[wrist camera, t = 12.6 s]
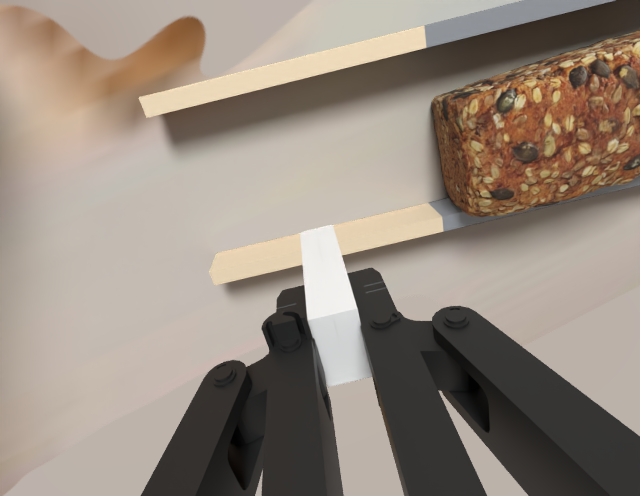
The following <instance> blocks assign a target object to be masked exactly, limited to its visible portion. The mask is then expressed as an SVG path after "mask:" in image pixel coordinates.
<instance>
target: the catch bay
mask: <svg viewBox="0 0 640 496" xmlns="http://www.w3.org/2000/svg"><path fill="white" fill-rule="evenodd" d="M611 1H615V0H523V1H519V2H515V3H511V4H507V5H504V6H500V7H496V8H492V9H488V10H484V11H480V12H476V13H472V14H468V15H464V16H460V17H456V18H452V19H448V20H444V21H440V22H436V23H432V24H428V25H424V26H420V27H416V28H412V29H408V30H404V31H400V32H396V33H393V34H389V35H385V36H381V37H377V38H373V39H369V40H365V41H361V42H357V43H353V44H349V45H345V46H341V47H337V48H333V49H329V50H325V51H321V52H317V53H313V54H309V55H305V56H301V57H297V58H293V59H289V60H286V61H282V62H278V63H274V64H270V65H266V66H262V67H258V68H254V69H250V70H246V71H242V72H238V73H234V74H230V75H226V76H222V77H218V78H214V79H210V80H206V81H202V82H198V83H194V84H190V85H186V86H182V87H178V88H175V89H171V90H167V91H163V92H159V93H155V94H151V95H147V96H143V97H139V100H140V102H141V105H142V107H143V110H144V112H145V115H146V117H147V118H148V117H152V116H156V115H160V114H164V113H168V112H172V111H176V110H180V109H184V108H188V107H192V106H196V105H200V104H204V103H208V102H212V101H216V100H220V99H224V98H228V97H232V96H236V95H240V94H244V93H248V92H252V91H256V90H260V89H264V88H268V87H272V86H276V85H280V84H284V83H288V82H292V81H296V80H300V79H304V78H308V77H312V76H316V75H320V74H324V73H328V72H332V71H336V70H340V69H344V68H348V67H352V66H356V65H360V64H364V63H368V62H372V61H376V60H380V59H384V58H388V57H392V56H396V55H400V54H404V53H408V52H412V51H416V50H420V49H424V48H428V47H432V46H436V45H440V44H444V43H448V42H452V41H456V40H460V39H464V38H468V37H472V36H476V35H480V34H484V33H488V32H492V31H496V30H500V29H504V28H508V27H511V26H515V25H519V24H523V23H527V22H531V21H535V20H539V19H543V18H547V17H551V16H555V15H559V14H563V13H567V12H571V11H575V10H579V9H583V8H587V7H591V6H595V5H599V4H603V3H607V2H611ZM639 185H640V175H639V176H637V177H636V178H635V179H634V180H632V181H631V182H630V183H627V184H624V185H613V186H607V187H603V188H599V189H596V190H595V191H593V192H589V193H586V194H584V195H581V196H579V197H577V198H575V199H570V200H567V201H560V202H559V203H557V204H554V205H558V204H563V203H567V202H571V201H575V200H580V199H584V198H588V197H592V196H597V195H601V194H605V193H609V192H614V191H618V190H622V189H626V188H631V187H635V186H639ZM554 205H549V206H543V207H535V208H534V207H531V208H529V209H528V210H527V211H523V212H516V213H508V214H507V215H504V216H485V217H474V216H470V215H467V214H466V213H464V212H463V211H462V210H461V208H459V207H458V206H456V205H455V204H454V203H453V202H452V200H451V198H446V199H442V200H438V201H434V202H429V203H425V204H421V205H417V206H413V207H408V208H404V209H400V210H396V211H392V212H387V213H383V214H379V215H375V216H371V217H366V218H362V219H358V220H354V221H350V222H345V223H341V224H337V225H333V227H334V231H335V234H336V238H337V241H338V244H339V248H340V251H341V255H346V254H350V253H355V252H359V251H363V250H367V249H372V248H376V247H380V246H384V245H389V244H393V243H397V242H401V241H406V240H410V239H414V238H418V237H423V236H427V235H431V234H435V233H440V232H444V231H448V230H452V229H457V228H461V227H465V226H469V225H473V224H478V223H482V222H486V221H490V220H495V219H499V218H503V217H507V216H512V215H516V214H520V213H524V212H529V211H533V210H537V209H541V208H546V207H550V206H554ZM299 265H303V263H302V251H301V239H300V233H299V234H295V235H291V236H286V237H282V238H278V239H274V240H270V241H265V242H261V243H257V244H253V245H249V246H244V247H240V248H236V249H232V250H228V251H223V252H219V253H216V256H215V258H214V261H213V263H212V266H211V269H210V271H209V273H210V275H211V278H212V280H213V283H214V285H219V284H223V283H227V282H231V281H236V280H240V279H244V278H248V277H253V276H257V275H261V274H265V273H270V272H274V271H278V270H282V269H287V268H291V267H295V266H299Z"/></svg>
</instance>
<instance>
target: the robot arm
mask: <svg viewBox="0 0 640 496" xmlns="http://www.w3.org/2000/svg"><path fill="white" fill-rule="evenodd" d="M300 239H301V251H302V263H303V274H304V285H303V286H298V287H294V288H290V289H286V290H282V292H281V293H280V295H279V297H278V298H277V311H276V313H274V314H272V315H271V316H269V317H268V318H267V319H266V320H265V321H264V322H263V325H262V331H263V334H264V336H265V339H266V342H267V344H268V347H269V354H268V355H266V356H265V357H264V358H263V359H261V360H259V361H258V362H256V363H254V364H252V365H250V366H248V367H246V366H245V364H244V363H242V362H240V361H236V360H231V361H226V362H223V363H221V364H219V365H217V366H215V367H214V368H213V369H212V370H210V371H209V372H208V374H207V375H206V376H205V378H204V379H203V381H202V383H201V385H200V387H199V389H198V391H197V392H196V394H195V396H194V398H193V400H192V402H191V403H190V405H189V407H188V409H187V411H186V413H185V414H184V416H183V418H182V420H181V422H180V424H179V426H178V427H177V429H176V431H175V433H174V435H173V437H172V439H171V441H170V442H169V444H168V446H167V448H166V450H165V452H164V454H163V455H162V457H161V459H160V461H159V463H158V465H157V467H156V469H155V470H154V472H153V474H152V476H151V478H150V480H149V481H148V483H147V485H146V487H145V489H144V491H143V493H142V494H141V496H255V494H256V490H257V487H258V483H259V479H260V476H261V472H262V469H263V479H262V496H343V488H342V481H341V475H340V467H339V459H338V453H337V445H336V437H335V430H334V423H333V416H332V408H331V401H330V397H329V394H328V391H327V387H326V383H327V386H328V387H331V386H335V385H340V384H343V383H348V382H352V381H356V380H361V379H364V378H369V377H373V381H374V385H375V390H376V394H377V398H378V402H379V406H380V408H381V411H382V415H383V419H384V422H385V426H386V430H387V433H388V437H389V441H390V445H391V448H392V452H393V456H394V459H395V463H396V466H397V470H398V474H399V478H400V481H401V485H402V488H403V492H404V496H487V495H486V493H485V490H484V488H483V486H482V484H481V482H480V479H479V477H478V475H477V473H476V471H475V469H474V467H473V465H472V462H471V460H470V458H469V456H468V454H467V452H466V449H465V447H464V445H463V443H462V441H461V439H460V436H459V434H458V432H457V430H456V428H455V426H454V424H453V421H452V419H451V417H450V415H449V413H448V411H447V409H446V406H445V404H444V402H443V400H442V398H441V396H440V394H439V391H438V390H441V391H442V393H443V395H444V396H445V397H446V399H447V400H448V401H449V402H450V403H451V404H452V406H453V407H454V408H455V409H456V410H457V412H458V413H459V414H460V415H461V416H462V417H463V419H464V420H465V421H466V422H467V423H468V425H469V426H470V427H471V428H472V429H473V430H474V432H475V433H476V434H477V435H478V436H479V438H480V439H481V440H482V441H483V442H484V444H485V445H486V446H487V447H488V448H489V449H490V451H491V452H492V453H493V454H494V455H495V457H496V458H497V459H498V460H499V461H500V462H501V464H502V465H503V466H504V467H505V468H506V470H507V471H508V472H509V473H510V474H511V475H512V476H513V478H514V479H515V480H516V481H517V482H518V484H519V485H520V486H521V487H522V488H523V490H524V491H525V492H526V493H527V494H528V495H529V496H640V436H638V435H637V434H636V433H635V432H633V431H632V430H631V429H629V428H628V427H627V426H625V425H624V424H622V423H621V422H620V421H619V420H617V419H616V418H615V417H613V416H612V415H611V414H609V413H608V412H607V411H606V410H604V409H603V408H602V407H600V406H599V405H598V404H596V403H595V402H594V401H592V400H591V399H590V398H588V397H587V396H586V395H584V394H583V393H582V392H581V391H579V390H578V389H577V388H575V387H574V386H572V385H571V384H570V383H569V382H568V381H566V380H565V379H564V378H562V377H561V376H560V375H558V374H557V373H556V372H554V371H553V370H552V369H550V368H549V367H548V366H547V365H545V364H544V363H543V362H541V361H540V360H538V359H537V358H536V357H535V356H533V355H532V354H531V353H529V352H528V351H527V350H525V349H524V348H523V347H522V346H520V345H519V344H518V343H516V342H515V341H514V340H512V339H511V338H510V337H508V336H507V335H506V334H504V333H503V332H502V331H501V330H499V329H498V328H497V327H495V326H494V325H493V324H491V323H490V322H489V321H487V320H486V319H485V318H483V317H482V316H481V315H480V314H478V313H477V312H475V311H474V310H472V309H470V308H466V307H462V306H450V307H446V308H443V309H441V310H439V311H438V312H436V313H435V315H434V316H433V317H432V321H413V320H410V319H407V318H405V317H403V315H402V314H401V313H400V312H398V311H397V309H396V307H395V305H394V303H393V301H392V298H391V296H390V294H389V292H388V290H387V288H386V285H385V283H384V281H383V279H382V276H381V274H380V273H379V272H378V271H376V270H375V269H373V268H368V269H364V270H360V271H356V272H352V273H348V274H347V271H346V268H345V265H344V261H343V258H342V255H341V251H340V248H339V244H338V241H337V238H336V234H335V231H334V227H333V224H332V225H328V226H324V227H320V228H316V229H312V230H308V231H304V232H300Z"/></svg>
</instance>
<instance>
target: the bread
mask: <svg viewBox="0 0 640 496" xmlns="http://www.w3.org/2000/svg"><path fill="white" fill-rule="evenodd" d="M432 111H433V113H434V117H435V120H434V123H435V130H436V134H437V137H438V140H439V150H440V154H441V167H442V172H443V177H444V183H445V187H446V190H447V192H448V194H449V196H450V198H451V200H452V202H453V203H454V204H455V205H456V206H458V207H459V208H461V210H462V211H463V212H464V213H466V214H467V215H470V216H474V217H485V216H504V215H507V214H508V213H516V212H523V211H527V210H528V209H529V208H531V207H534V208H535V207H543V206H549V205H554V204H557V203H559V202H560V201H567V200H570V199H575V198H577V197H579V196H581V195H584V194H586V193H589V192H593V191H595V190H596V189H599V188H603V187H607V186H613V185H624V184H627V183H630V182H631V181H632V180H634V179H635V178H636V177H637V176H639V175H640V30H639V31H636V32H633V33H629V34H626V35H622V36H618V37H614V38H609V39H606V40H604V41H600V42H598V43H595V44H593V45H591V46H588V47H584V48H580V49H577V50H575V51H570V52H567V53H563V54H559V55H558V56H555V57H551V58H548V59H545V60H541V61H538V62H536V63H532V64H529V65H526V66H523V67H520V68H517V69H514V70H511V71H507V72H505V73H502V74H499V75H496V76H494V77H491V78H489V79H485V80H479V81H477V82H474V83H472V84H469V85H466V86H465V87H461V88H458V89H456V90H453V91H451V92H448V93H444V94H442V95H439V96H436V97H434V99H433V100H432Z"/></svg>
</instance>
